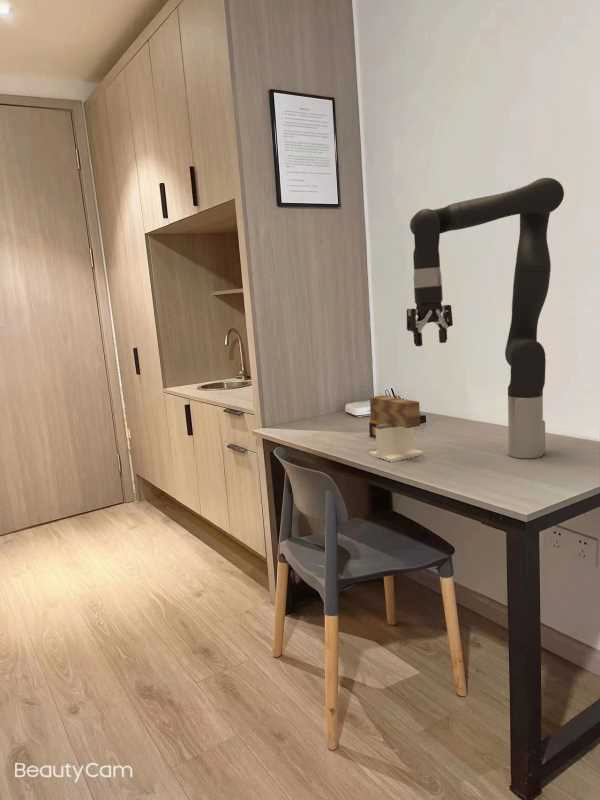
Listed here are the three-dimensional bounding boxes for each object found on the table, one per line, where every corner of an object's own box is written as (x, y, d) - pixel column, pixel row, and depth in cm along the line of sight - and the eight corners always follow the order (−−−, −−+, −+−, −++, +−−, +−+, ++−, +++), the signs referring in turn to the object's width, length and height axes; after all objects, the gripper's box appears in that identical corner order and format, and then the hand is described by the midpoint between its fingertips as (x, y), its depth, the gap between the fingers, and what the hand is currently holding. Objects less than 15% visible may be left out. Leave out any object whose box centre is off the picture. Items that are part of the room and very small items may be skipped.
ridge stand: (400, 448, 193) (399, 416, 191) (423, 454, 183) (422, 422, 182) (369, 455, 187) (367, 422, 186) (390, 462, 178) (389, 428, 176)
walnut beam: (420, 425, 177) (419, 401, 176) (407, 428, 175) (406, 404, 173) (382, 417, 192) (381, 395, 191) (371, 419, 190) (369, 397, 189)
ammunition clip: (369, 436, 211) (367, 402, 209) (373, 436, 212) (372, 401, 210) (388, 442, 202) (387, 406, 200) (393, 441, 203) (391, 405, 201)
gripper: (415, 286, 162) (419, 347, 165) (457, 282, 169) (459, 341, 171) (398, 288, 169) (402, 347, 171) (438, 284, 175) (441, 341, 178)
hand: (431, 344), depth 171 cm, fingers open, 8 cm apart
